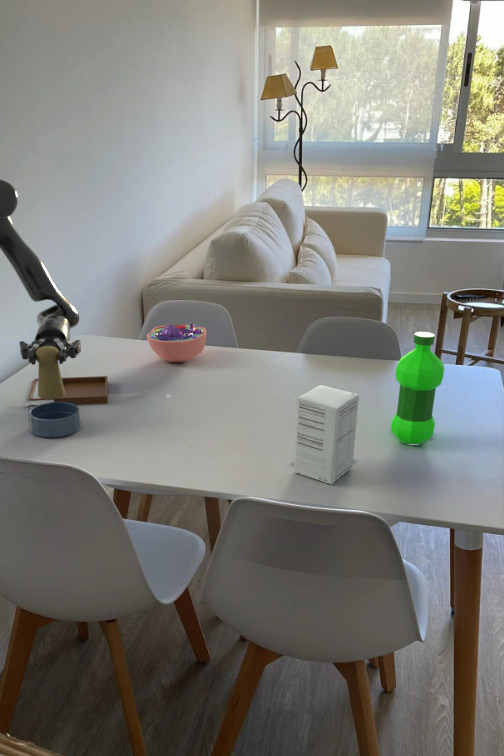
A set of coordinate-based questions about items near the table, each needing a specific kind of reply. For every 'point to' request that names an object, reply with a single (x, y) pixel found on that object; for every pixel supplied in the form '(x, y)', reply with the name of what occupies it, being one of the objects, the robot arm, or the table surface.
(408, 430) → the plastic bottle
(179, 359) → the cell model
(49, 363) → the cork
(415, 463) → the table surface
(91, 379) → the tray
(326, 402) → the supplement box
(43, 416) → the bowl
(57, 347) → the robot arm
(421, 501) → the table surface
